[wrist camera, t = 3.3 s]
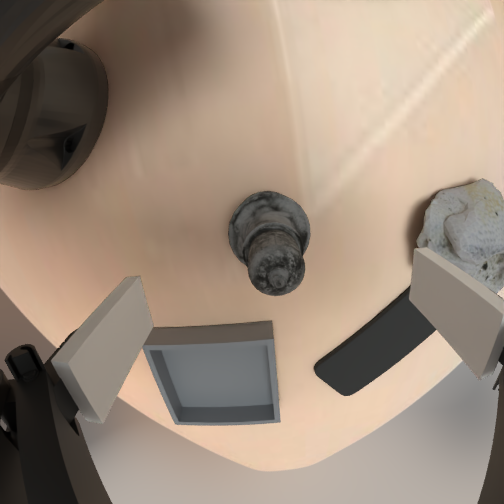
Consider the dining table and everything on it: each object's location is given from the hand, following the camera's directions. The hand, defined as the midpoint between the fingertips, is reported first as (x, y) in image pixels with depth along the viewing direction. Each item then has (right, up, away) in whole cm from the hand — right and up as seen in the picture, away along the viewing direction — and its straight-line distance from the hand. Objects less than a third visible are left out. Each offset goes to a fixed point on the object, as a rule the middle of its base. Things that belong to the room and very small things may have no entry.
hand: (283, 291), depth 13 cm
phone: (+7, -13, +17) cm, 23 cm away
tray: (-5, -11, +16) cm, 20 cm away
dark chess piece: (0, +4, +11) cm, 12 cm away
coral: (+21, +3, +12) cm, 25 cm away
